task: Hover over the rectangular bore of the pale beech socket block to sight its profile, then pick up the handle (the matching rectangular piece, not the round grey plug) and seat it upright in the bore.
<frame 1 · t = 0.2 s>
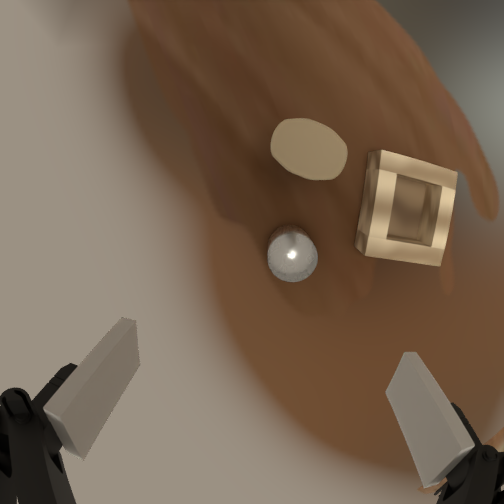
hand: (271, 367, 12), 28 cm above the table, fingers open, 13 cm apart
socket block: (400, 206, 37), on the table
round plug: (289, 245, 40), on the table
handle: (293, 158, 36), on the table
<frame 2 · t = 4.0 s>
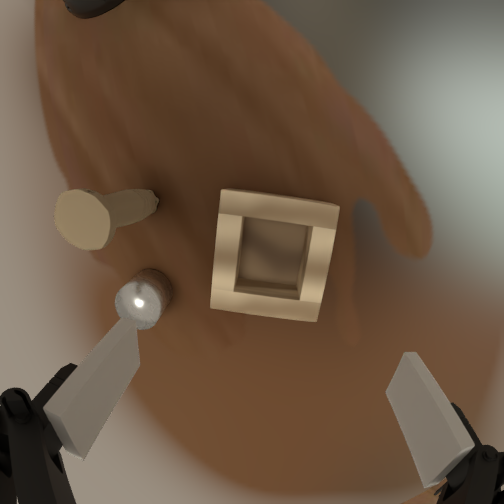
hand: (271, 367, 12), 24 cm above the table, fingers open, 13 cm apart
socket block: (272, 248, 35), on the table
round plug: (152, 289, 38), on the table
handle: (149, 201, 35), on the table
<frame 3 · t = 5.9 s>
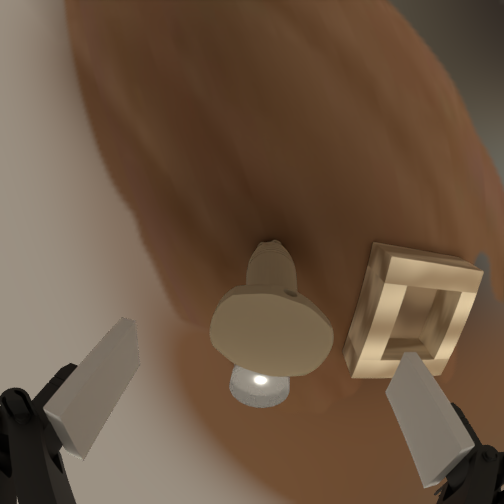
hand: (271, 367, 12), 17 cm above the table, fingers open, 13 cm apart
socket block: (405, 305, 29), on the table
round plug: (263, 353, 32), on the table
handle: (271, 253, 29), on the table
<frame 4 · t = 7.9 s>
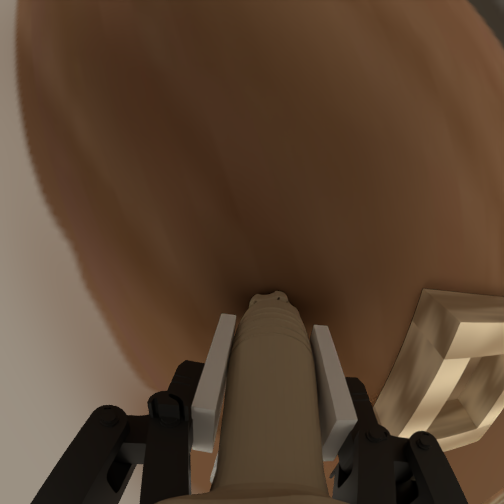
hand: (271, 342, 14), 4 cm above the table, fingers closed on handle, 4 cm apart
socket block: (449, 365, 19), on the table
handle: (271, 309, 18), on the table, touching gripper
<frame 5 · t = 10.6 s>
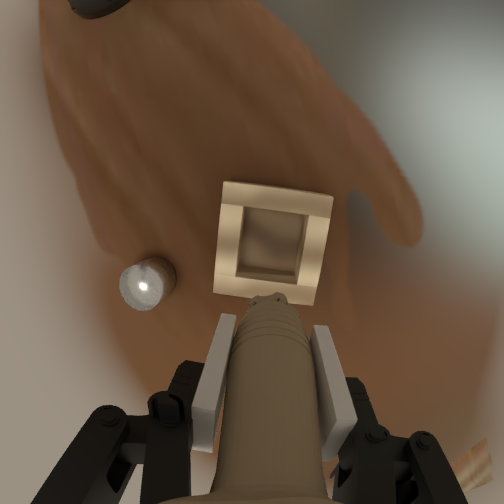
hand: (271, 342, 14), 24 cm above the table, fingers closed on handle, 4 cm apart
socket block: (270, 237, 38), on the table
round plug: (156, 276, 40), on the table, tilted 6°
handle: (271, 310, 18), point 21 cm above the table, touching gripper
when the fingers open (6 cm above the table, at t = 13.6 s): handle drops 2 cm, resting on socket block.
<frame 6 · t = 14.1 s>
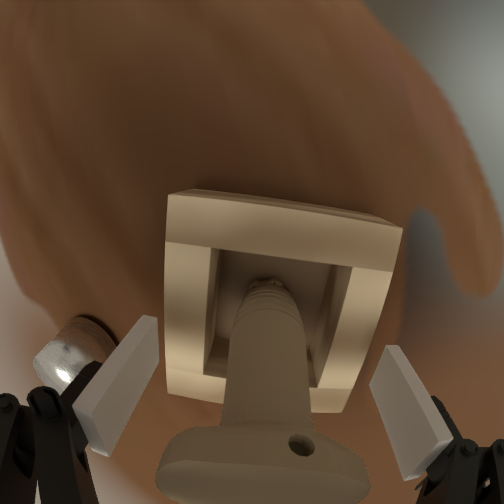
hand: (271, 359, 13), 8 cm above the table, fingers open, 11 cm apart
socket block: (271, 293, 21), on the table
round plug: (92, 343, 23), on the table, tilted 8°
handle: (268, 294, 20), resting on socket block
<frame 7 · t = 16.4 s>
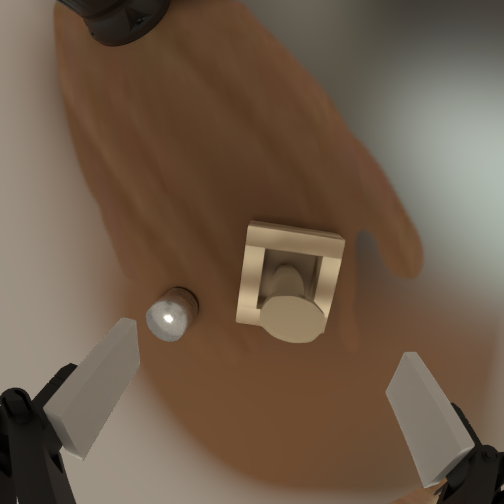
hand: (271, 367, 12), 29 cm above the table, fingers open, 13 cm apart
socket block: (287, 271, 42), on the table
round plug: (180, 305, 44), on the table, tilted 8°
handle: (285, 272, 42), resting on socket block
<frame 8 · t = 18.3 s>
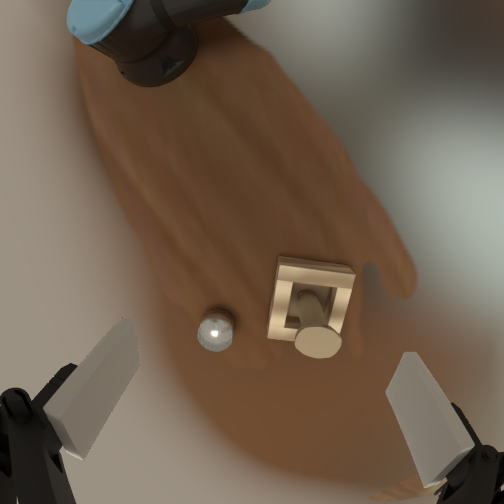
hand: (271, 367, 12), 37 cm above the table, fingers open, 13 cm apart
socket block: (307, 296, 51), on the table
round plug: (218, 323, 53), on the table, tilted 9°
handle: (306, 296, 51), resting on socket block
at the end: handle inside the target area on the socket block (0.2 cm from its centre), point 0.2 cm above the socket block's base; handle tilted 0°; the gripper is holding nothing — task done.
